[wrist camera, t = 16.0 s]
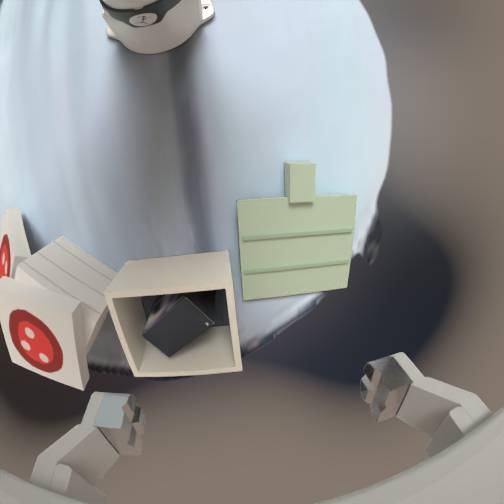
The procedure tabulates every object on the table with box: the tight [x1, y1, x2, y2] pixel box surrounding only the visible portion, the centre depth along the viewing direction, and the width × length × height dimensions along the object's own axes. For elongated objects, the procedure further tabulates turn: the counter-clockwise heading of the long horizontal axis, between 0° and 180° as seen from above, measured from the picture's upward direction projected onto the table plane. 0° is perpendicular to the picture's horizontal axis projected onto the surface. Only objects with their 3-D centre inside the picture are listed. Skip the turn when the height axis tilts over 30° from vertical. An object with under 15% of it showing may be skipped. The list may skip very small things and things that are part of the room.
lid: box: [237, 161, 357, 300], centre depth 46 cm, size 24×20×4 cm
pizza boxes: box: [0, 206, 117, 390], centre depth 36 cm, size 19×30×18 cm, turn 55°
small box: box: [142, 290, 215, 358], centre depth 44 cm, size 11×6×10 cm, turn 130°
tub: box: [104, 250, 243, 377], centre depth 43 cm, size 16×18×12 cm
